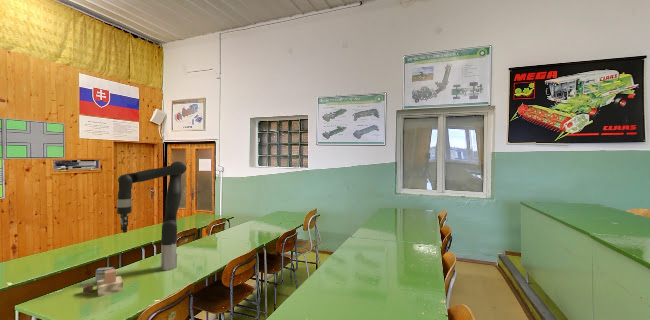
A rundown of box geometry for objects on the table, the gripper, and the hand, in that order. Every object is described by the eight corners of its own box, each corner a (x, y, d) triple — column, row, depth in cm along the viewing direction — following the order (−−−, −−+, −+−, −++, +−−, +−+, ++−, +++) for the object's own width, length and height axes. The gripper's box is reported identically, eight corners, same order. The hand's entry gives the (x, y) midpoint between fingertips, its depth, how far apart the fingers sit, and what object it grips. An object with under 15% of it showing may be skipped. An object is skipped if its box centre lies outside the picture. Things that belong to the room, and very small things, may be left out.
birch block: (120, 283, 165) (120, 275, 165) (122, 290, 157) (123, 281, 157) (96, 289, 157) (97, 280, 157) (98, 296, 149) (98, 287, 149)
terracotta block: (114, 278, 161) (115, 268, 161) (115, 281, 157) (116, 271, 157) (104, 281, 157) (104, 270, 157) (104, 284, 153) (105, 273, 153)
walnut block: (92, 290, 156) (92, 283, 156) (92, 292, 153) (92, 285, 153) (83, 292, 154) (83, 285, 154) (83, 295, 151) (83, 288, 151)
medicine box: (94, 284, 163) (95, 270, 163) (98, 281, 167) (99, 267, 167) (110, 283, 165) (110, 269, 165) (113, 280, 169) (114, 266, 169)
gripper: (133, 206, 170) (132, 232, 170) (129, 203, 180) (129, 228, 180) (118, 208, 165) (117, 234, 165) (115, 204, 175) (115, 229, 175)
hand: (123, 231), depth 172 cm, fingers open, 8 cm apart
